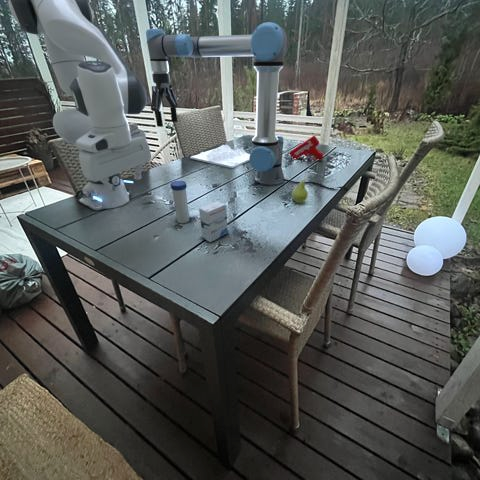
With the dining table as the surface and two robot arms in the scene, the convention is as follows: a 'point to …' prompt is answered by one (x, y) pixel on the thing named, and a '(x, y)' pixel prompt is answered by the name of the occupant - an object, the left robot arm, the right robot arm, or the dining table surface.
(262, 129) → the right robot arm
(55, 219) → the dining table surface
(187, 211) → the jar
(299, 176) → the dining table surface
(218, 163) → the relief map
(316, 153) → the toy gun
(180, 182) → the lid
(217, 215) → the ink box
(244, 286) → the dining table surface
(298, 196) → the fruit
